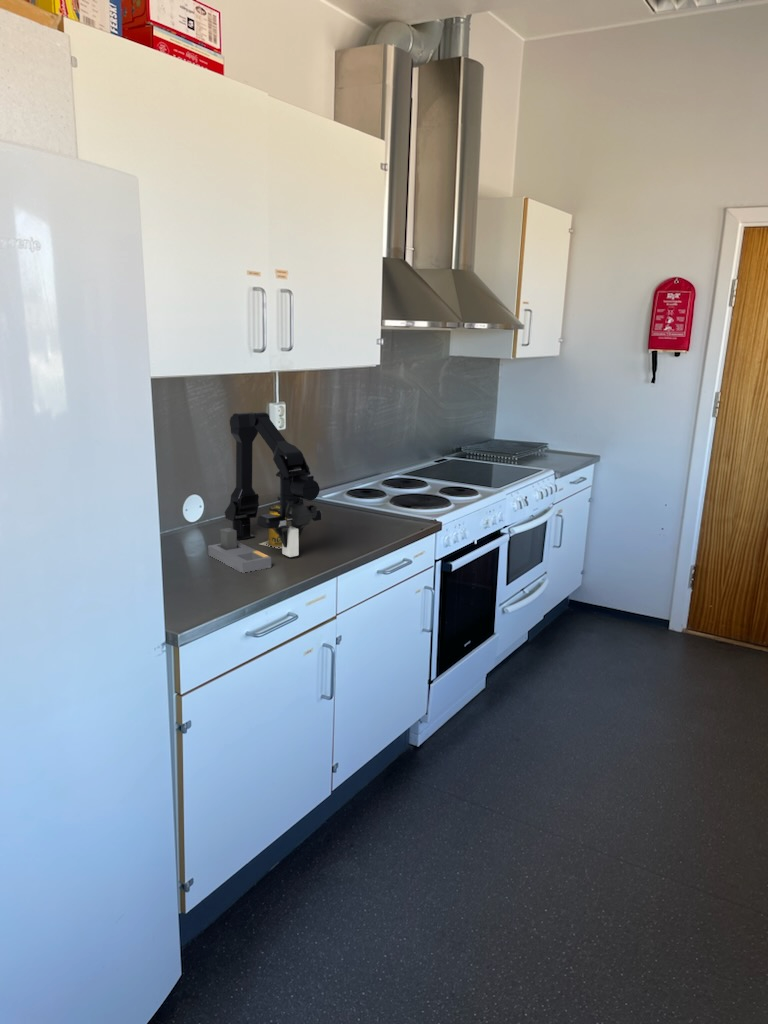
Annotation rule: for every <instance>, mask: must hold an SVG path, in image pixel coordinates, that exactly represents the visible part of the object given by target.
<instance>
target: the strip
mask: <svg viewBox="0 0 768 1024" xmlns="http://www.w3.org/2000/svg"><path fill="white" fill-rule="evenodd" d="M207 548H208V556H209V557H210V556H211V558H212V557H213V559H214V558H215V559H214V560H216V559H217V560H216V561H218V560H219V561H218V562H220V561H221V562H220V563H222V562H223V563H222V564H224V563H225V564H224V565H226V566H228V567H229V566H230V568H231V567H232V569H233V568H234V570H235V571H236V572H239V573H241V572H242V573H241V574H246V573H245V572H248V573H251V572H250V571H252V572H256V571H255V570H257V571H260V570H261V569H262V570H266V568H267V569H270V568H272V556H269V555H267V554H265V553H263V552H261V551H259V550H256V549H255V548H253V547H250V546H248V545H246V544H243V543H241V542H239V540H237V548H236V549H230V550H225V549H222V548H221V542H220V543H215V544H210V545H208V546H207ZM262 570H261V571H262Z"/></svg>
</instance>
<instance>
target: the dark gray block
mask: <svg viewBox="0 0 768 1024" xmlns="http://www.w3.org/2000/svg"><path fill="white" fill-rule="evenodd" d="M219 532H220V543H221V548H222V549H225V550H230V549H236V548H237V541H238V540H237V531H236V530H234V529H232V527H226V528H225V527H224V528H220V531H219Z"/></svg>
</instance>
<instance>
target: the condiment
mask: <svg viewBox="0 0 768 1024" xmlns="http://www.w3.org/2000/svg"><path fill="white" fill-rule="evenodd" d="M278 510H280V504H278V505H271V506H270V507H269V513H268V514H272V515H275V516H280V514H278ZM286 525H287V526H289V521H286ZM266 544H267V545H266ZM259 545H261V546H266V547H270V546H272V547H270V548H274V547H275V548H274V549H279V550H280V549H282V541H281V539H280V537H279V535H278V533H277V531H276V529H275V528H271V529H268V540H267V541H264V542H263V541H262V542H261V543H259ZM268 545H269V546H268ZM278 547H280V548H278Z"/></svg>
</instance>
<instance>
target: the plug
mask: <svg viewBox="0 0 768 1024" xmlns="http://www.w3.org/2000/svg"><path fill="white" fill-rule="evenodd" d="M288 526H289V528H288V530H287V547H284V546H283V543H282V548H281V553H282V555H285V556H286V557H289V558H293V557H297V556H299V554H300V553H299V542H300V541H299V540H300V538H299V534H298V529H297V528H295V527H292V525H288Z"/></svg>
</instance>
